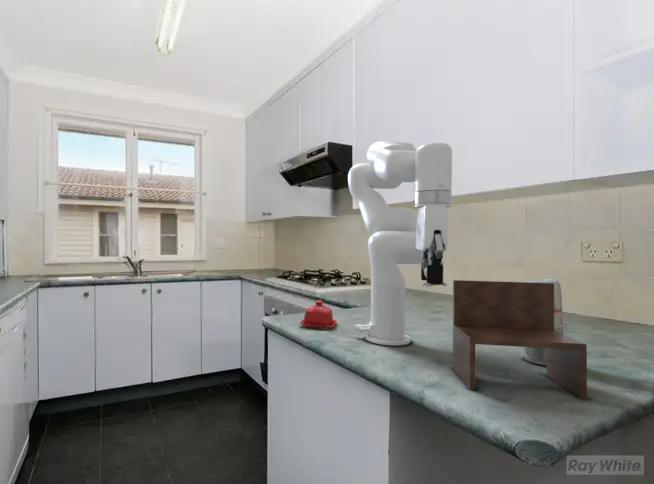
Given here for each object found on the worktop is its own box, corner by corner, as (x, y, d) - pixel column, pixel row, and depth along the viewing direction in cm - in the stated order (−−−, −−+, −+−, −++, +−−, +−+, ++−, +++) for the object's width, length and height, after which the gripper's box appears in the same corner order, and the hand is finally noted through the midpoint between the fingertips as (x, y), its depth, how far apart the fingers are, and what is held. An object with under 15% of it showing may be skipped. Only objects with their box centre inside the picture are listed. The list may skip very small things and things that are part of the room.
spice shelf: (469, 389, 72) (470, 286, 72) (452, 368, 84) (453, 279, 84) (587, 398, 68) (586, 289, 69) (551, 375, 80) (551, 282, 81)
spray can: (546, 369, 84) (546, 280, 85) (514, 358, 92) (514, 277, 93) (574, 366, 87) (573, 280, 87) (540, 355, 95) (540, 276, 95)
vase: (416, 283, 86) (416, 257, 86) (441, 284, 85) (441, 257, 85) (421, 286, 80) (421, 258, 80) (447, 287, 80) (448, 259, 80)
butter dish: (338, 323, 129) (338, 298, 129) (332, 331, 118) (333, 304, 118) (306, 321, 133) (306, 297, 133) (297, 328, 122) (298, 301, 122)
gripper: (408, 203, 92) (407, 277, 92) (422, 196, 75) (421, 286, 75) (441, 203, 90) (440, 278, 90) (462, 196, 74) (461, 288, 74)
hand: (431, 281), depth 83 cm, fingers closed on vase, 5 cm apart
